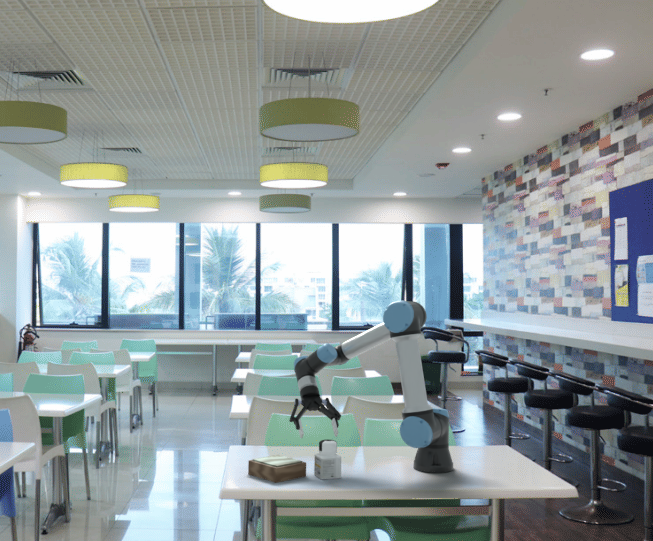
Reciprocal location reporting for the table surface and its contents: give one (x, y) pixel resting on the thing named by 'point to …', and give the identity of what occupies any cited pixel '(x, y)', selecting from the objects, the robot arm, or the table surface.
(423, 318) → the robot arm
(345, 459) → the table surface
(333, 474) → the container
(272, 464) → the block
